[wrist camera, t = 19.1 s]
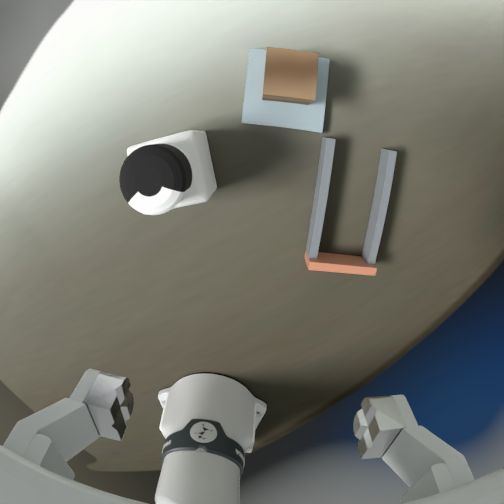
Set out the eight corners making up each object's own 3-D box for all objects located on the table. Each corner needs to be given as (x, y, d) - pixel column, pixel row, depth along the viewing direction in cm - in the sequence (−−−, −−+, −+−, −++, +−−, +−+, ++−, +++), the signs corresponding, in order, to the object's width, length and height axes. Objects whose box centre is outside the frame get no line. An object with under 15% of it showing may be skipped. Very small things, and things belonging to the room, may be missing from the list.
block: (307, 105, 31) (315, 100, 27) (262, 100, 31) (262, 94, 26) (310, 64, 29) (318, 53, 25) (265, 58, 29) (266, 46, 25)
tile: (320, 132, 33) (322, 132, 32) (242, 123, 33) (241, 123, 32) (327, 60, 30) (329, 59, 29) (249, 50, 30) (249, 48, 29)
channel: (366, 264, 39) (375, 275, 36) (304, 258, 39) (308, 269, 36) (388, 150, 34) (400, 152, 30) (322, 137, 33) (328, 137, 30)
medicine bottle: (148, 144, 34) (102, 151, 23) (205, 130, 33) (180, 128, 22) (161, 200, 37) (122, 230, 25) (218, 189, 36) (199, 214, 25)
